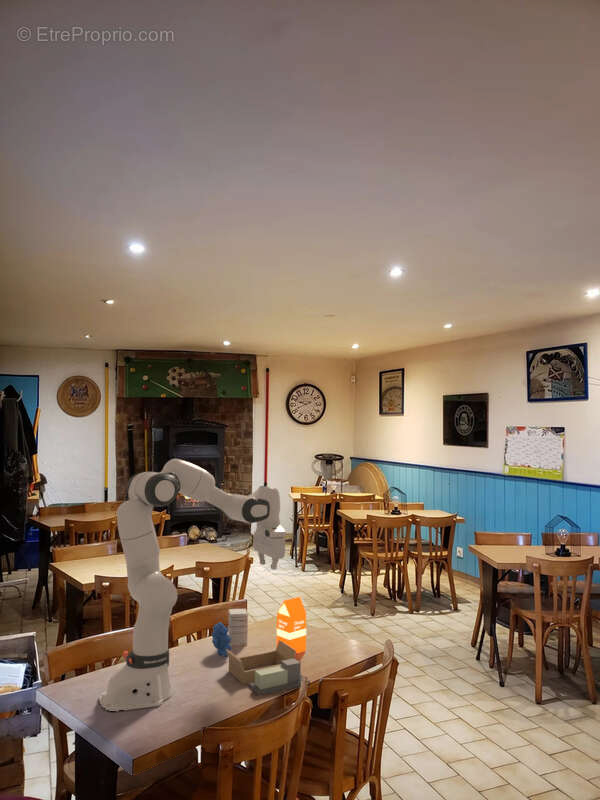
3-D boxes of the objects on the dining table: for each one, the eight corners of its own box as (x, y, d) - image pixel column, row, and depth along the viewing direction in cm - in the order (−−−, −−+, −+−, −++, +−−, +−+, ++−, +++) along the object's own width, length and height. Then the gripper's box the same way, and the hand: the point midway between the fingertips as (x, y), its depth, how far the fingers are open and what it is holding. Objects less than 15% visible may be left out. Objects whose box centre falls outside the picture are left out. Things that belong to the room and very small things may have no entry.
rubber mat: (259, 695, 196) (259, 692, 196) (248, 686, 203) (249, 683, 203) (309, 684, 205) (309, 681, 205) (298, 675, 212) (298, 672, 212)
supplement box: (227, 640, 248) (228, 608, 249) (245, 639, 250) (246, 608, 250) (229, 646, 241) (229, 614, 242) (247, 645, 242) (248, 613, 243)
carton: (240, 685, 204) (240, 661, 204) (225, 671, 215) (225, 649, 216) (296, 673, 215) (296, 650, 215) (279, 660, 226) (279, 639, 227)
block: (260, 689, 198) (260, 670, 199) (254, 684, 202) (254, 666, 202) (300, 680, 206) (300, 662, 206) (293, 676, 209) (294, 658, 210)
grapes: (203, 653, 233) (204, 621, 234) (218, 649, 237) (218, 618, 238) (220, 662, 224) (220, 629, 225) (235, 658, 228) (235, 625, 229)
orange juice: (276, 650, 237) (276, 598, 238) (293, 645, 243) (293, 594, 244) (289, 656, 231) (290, 602, 232) (306, 650, 237) (306, 598, 238)
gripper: (249, 526, 235) (248, 562, 234) (272, 534, 217) (272, 573, 216) (263, 525, 238) (263, 560, 237) (288, 532, 220) (288, 571, 219)
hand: (268, 566), depth 226 cm, fingers open, 8 cm apart
